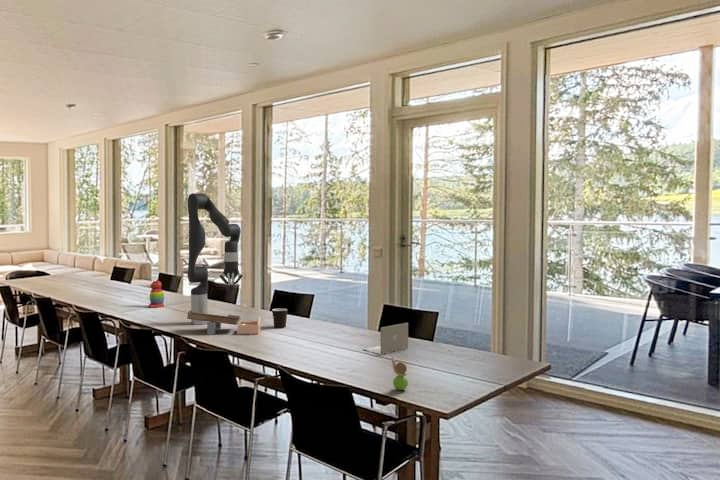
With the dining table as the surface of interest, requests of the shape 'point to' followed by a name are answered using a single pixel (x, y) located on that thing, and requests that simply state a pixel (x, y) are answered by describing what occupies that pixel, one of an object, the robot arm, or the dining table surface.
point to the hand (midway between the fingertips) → (231, 291)
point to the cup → (249, 327)
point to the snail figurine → (400, 375)
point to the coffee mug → (279, 317)
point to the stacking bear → (156, 295)
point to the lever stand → (212, 327)
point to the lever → (214, 318)
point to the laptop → (392, 339)
